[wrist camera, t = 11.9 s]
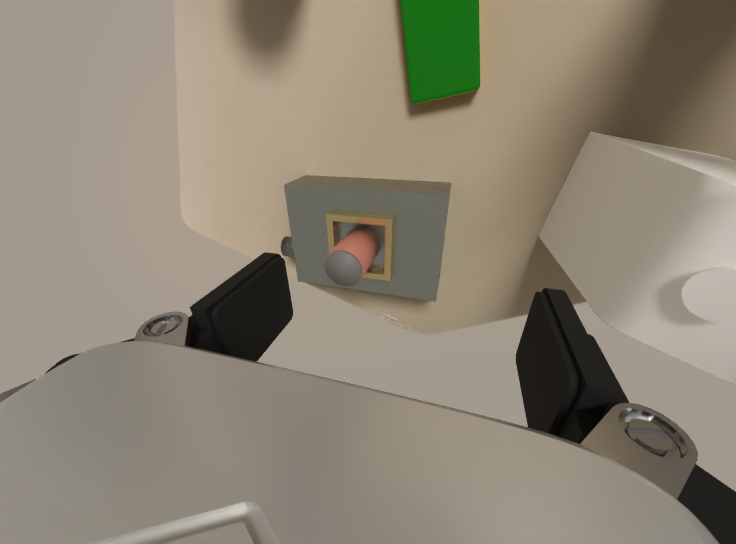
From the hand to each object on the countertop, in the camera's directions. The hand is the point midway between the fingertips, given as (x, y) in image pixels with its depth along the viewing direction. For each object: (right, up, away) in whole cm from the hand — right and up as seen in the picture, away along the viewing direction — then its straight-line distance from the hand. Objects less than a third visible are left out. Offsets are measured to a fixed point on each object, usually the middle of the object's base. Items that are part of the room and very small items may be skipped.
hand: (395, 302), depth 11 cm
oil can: (-2, +5, +27) cm, 27 cm away
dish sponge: (+7, +27, +19) cm, 34 cm away
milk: (+27, +9, +22) cm, 36 cm away
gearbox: (-2, +8, +32) cm, 33 cm away
